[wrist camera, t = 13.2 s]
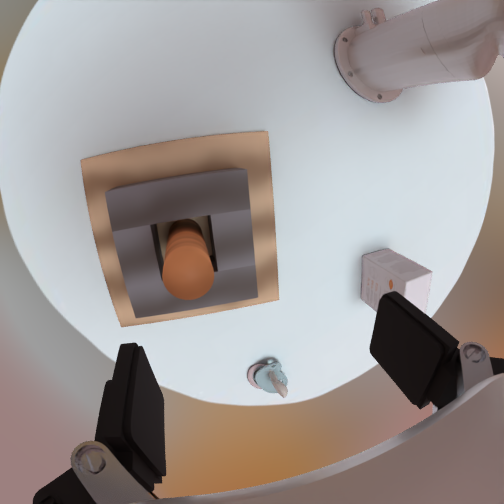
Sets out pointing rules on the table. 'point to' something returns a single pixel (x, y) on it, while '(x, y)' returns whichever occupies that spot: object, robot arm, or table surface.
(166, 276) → the peg
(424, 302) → the small box
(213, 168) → the socket
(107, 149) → the table surface
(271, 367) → the pacifier
